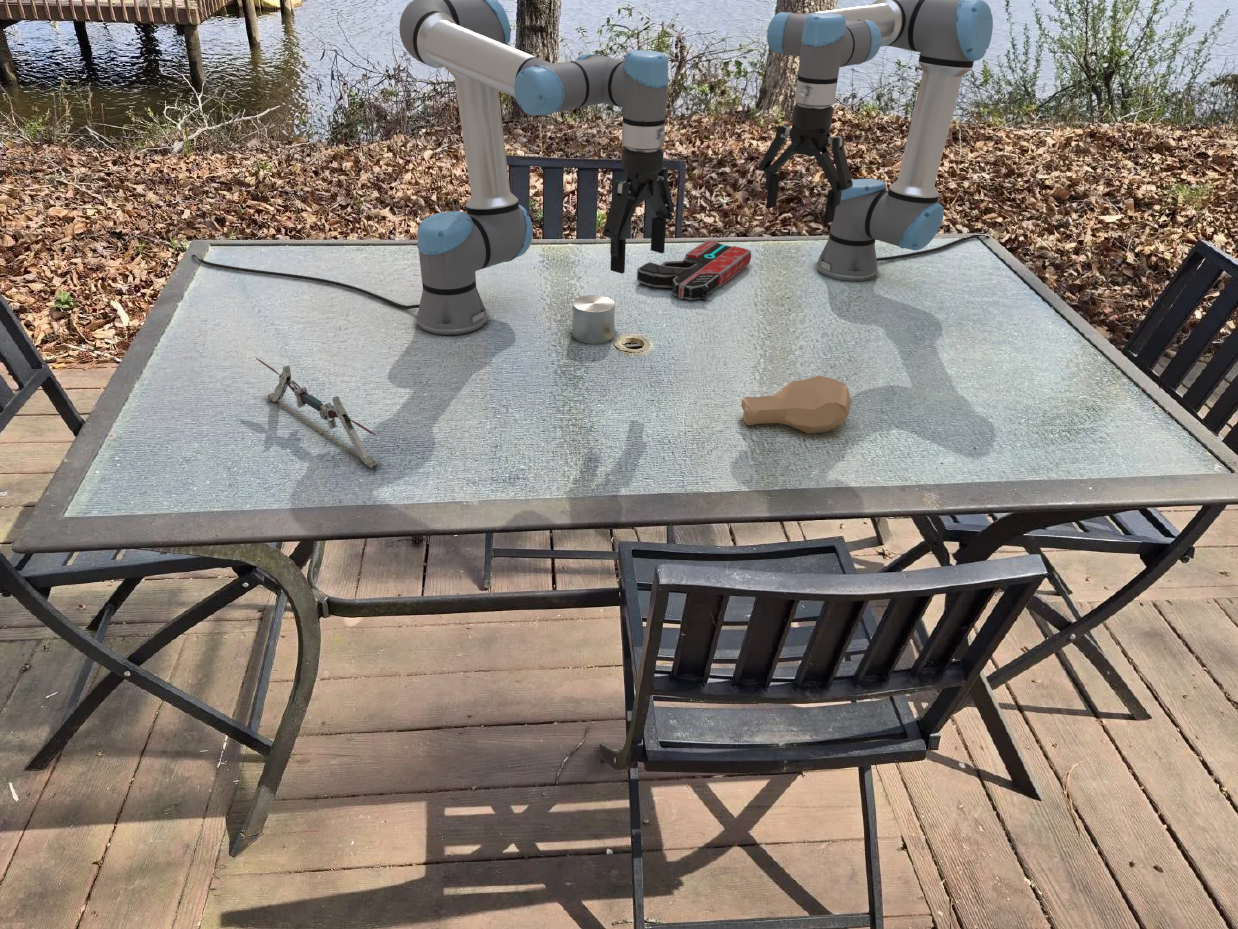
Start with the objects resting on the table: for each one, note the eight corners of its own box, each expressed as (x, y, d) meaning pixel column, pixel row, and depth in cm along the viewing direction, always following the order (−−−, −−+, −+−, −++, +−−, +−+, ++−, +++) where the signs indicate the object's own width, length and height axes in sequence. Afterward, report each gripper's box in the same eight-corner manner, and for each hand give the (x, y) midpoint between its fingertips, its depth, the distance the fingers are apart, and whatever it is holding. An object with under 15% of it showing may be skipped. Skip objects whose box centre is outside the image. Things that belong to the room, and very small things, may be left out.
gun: (631, 269, 213) (702, 288, 206) (689, 232, 235) (755, 248, 228) (630, 286, 216) (701, 306, 208) (688, 248, 238) (753, 264, 230)
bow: (387, 470, 147) (379, 419, 141) (378, 475, 146) (370, 423, 140) (269, 391, 168) (258, 344, 163) (260, 394, 167) (249, 347, 162)
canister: (617, 342, 190) (617, 310, 186) (575, 344, 189) (575, 312, 185) (610, 325, 198) (611, 294, 193) (570, 327, 196) (570, 295, 192)
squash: (855, 440, 159) (859, 402, 153) (745, 448, 161) (744, 411, 155) (845, 401, 167) (848, 364, 161) (739, 410, 169) (739, 373, 163)
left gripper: (619, 165, 146) (616, 285, 158) (697, 137, 163) (688, 247, 175) (583, 157, 149) (583, 275, 161) (663, 130, 166) (657, 239, 178)
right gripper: (748, 97, 172) (738, 204, 183) (863, 118, 158) (844, 233, 170) (769, 91, 176) (758, 196, 188) (882, 112, 163) (863, 224, 175)
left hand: (638, 261), depth 168 cm, fingers open, 13 cm apart
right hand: (799, 214), depth 179 cm, fingers open, 13 cm apart
